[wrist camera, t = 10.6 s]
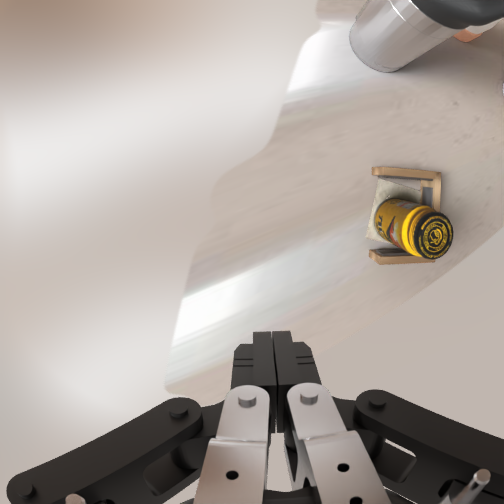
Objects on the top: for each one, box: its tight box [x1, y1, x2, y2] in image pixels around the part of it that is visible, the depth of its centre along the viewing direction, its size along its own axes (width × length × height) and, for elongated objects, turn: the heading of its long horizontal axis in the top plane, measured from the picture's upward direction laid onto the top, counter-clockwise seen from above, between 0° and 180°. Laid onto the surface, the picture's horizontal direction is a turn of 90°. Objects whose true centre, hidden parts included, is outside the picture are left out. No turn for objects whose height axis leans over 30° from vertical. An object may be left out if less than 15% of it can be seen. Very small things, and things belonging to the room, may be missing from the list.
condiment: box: [366, 179, 453, 260], centre depth 34 cm, size 7×8×12 cm
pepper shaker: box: [453, 18, 503, 42], centre depth 22 cm, size 7×7×19 cm
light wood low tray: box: [369, 167, 441, 265], centre depth 38 cm, size 12×9×4 cm
